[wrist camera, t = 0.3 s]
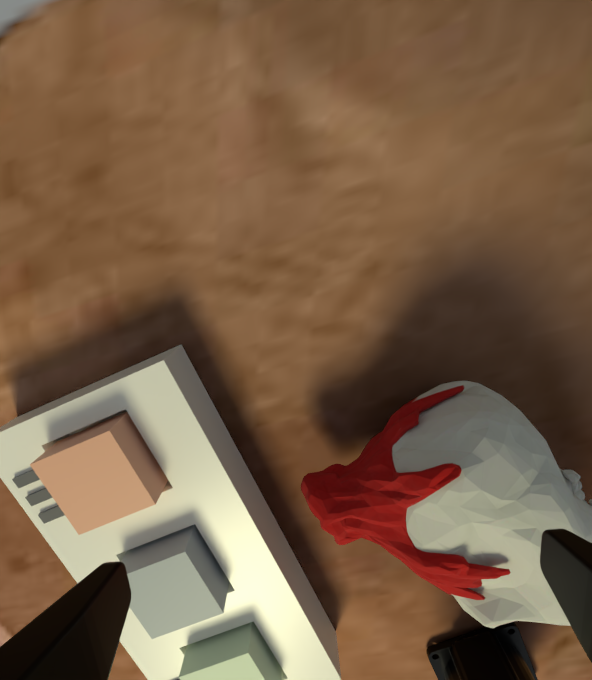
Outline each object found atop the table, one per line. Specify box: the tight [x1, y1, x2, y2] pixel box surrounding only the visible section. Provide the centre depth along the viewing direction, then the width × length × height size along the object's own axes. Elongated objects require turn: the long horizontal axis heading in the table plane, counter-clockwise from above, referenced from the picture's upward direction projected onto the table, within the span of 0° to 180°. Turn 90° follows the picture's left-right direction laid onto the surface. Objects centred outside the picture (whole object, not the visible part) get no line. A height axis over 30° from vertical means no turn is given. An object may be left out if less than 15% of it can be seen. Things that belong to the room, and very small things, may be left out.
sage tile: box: [179, 621, 282, 680], centre depth 23 cm, size 4×4×2 cm
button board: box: [0, 345, 341, 680], centre depth 23 cm, size 23×11×3 cm, turn 24°
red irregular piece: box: [301, 381, 592, 628], centre depth 19 cm, size 9×11×15 cm
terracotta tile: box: [30, 412, 168, 535], centre depth 19 cm, size 4×4×2 cm
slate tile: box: [121, 524, 229, 639], centre depth 21 cm, size 4×4×2 cm
